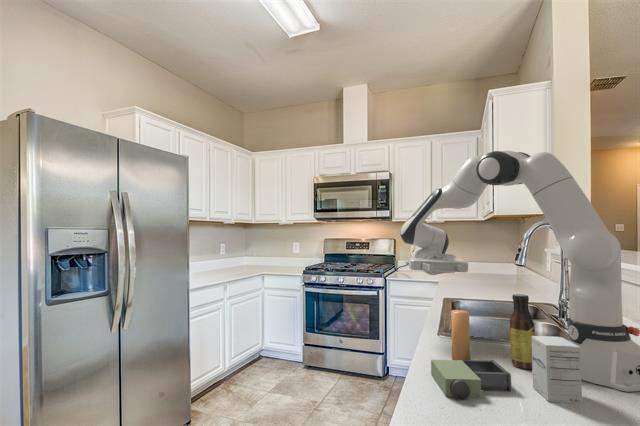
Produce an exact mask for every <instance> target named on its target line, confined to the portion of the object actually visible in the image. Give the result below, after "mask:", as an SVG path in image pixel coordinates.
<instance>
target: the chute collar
mask: <svg viewBox="0 0 640 426" xmlns="http://www.w3.org/2000/svg"><path fill="white" fill-rule="evenodd" d="M462 361H463V362H464V363H465V364H466V365H467V366H468V367H469V368H470V369H471V370H472V371H473V372H474V373H475V374H476V375H477V376H478V377H479V378H480V379H481V392H482V391H483V392H484V391H485V392H512V374H511V373H510V372H509V371H508V370H507V369H505V368H504V367H502V365H501V364H499V363H497V361H495V360H493V359H491V360H490V359H470V360H462Z"/></svg>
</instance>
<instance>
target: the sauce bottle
mask: <svg viewBox="0 0 640 426" xmlns="http://www.w3.org/2000/svg"><path fill="white" fill-rule="evenodd" d="M529 299H530V298H529V295H527V294H521V293H513V294H512V301H513V303H512V304H513V312H512V313H511V314H510V316H509V342H510V343H509V345H510V347H509V348H510V359H511V363H512V365H513V366H514V367H516V368H519V369H525V370H532V336H536V330H535V328H536V327H535V323H534V320H533V317H532V314H531V312H530V309H529Z"/></svg>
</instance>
